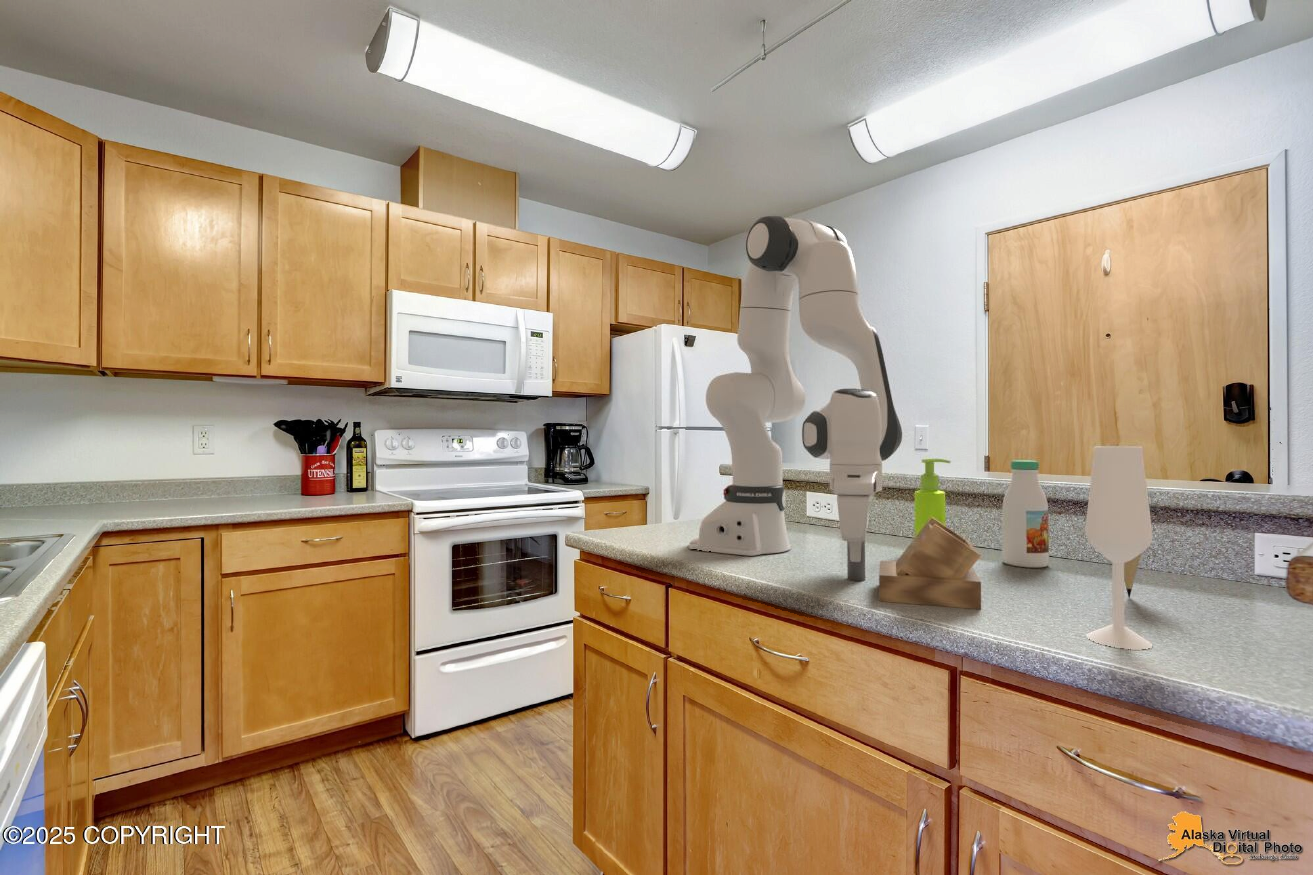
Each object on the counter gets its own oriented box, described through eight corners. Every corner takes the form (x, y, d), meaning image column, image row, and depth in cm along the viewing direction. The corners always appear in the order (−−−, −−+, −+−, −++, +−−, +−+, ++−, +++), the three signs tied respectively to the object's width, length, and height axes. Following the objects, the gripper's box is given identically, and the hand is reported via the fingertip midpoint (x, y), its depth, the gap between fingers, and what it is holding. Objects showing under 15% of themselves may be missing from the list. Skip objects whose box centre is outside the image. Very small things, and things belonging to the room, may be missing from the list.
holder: (879, 601, 96) (878, 523, 96) (880, 584, 106) (879, 513, 106) (982, 609, 91) (981, 527, 91) (972, 590, 101) (972, 517, 101)
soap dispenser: (954, 557, 127) (953, 459, 126) (918, 556, 128) (917, 459, 128) (946, 552, 132) (946, 458, 132) (912, 551, 134) (911, 458, 133)
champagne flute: (1093, 628, 82) (1093, 445, 81) (1158, 640, 77) (1158, 446, 76) (1078, 640, 77) (1077, 447, 77) (1146, 654, 72) (1145, 447, 72)
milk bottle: (1009, 567, 117) (1008, 461, 117) (997, 559, 125) (996, 459, 124) (1055, 569, 115) (1055, 461, 115) (1040, 560, 123) (1039, 459, 122)
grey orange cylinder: (846, 580, 109) (846, 523, 109) (847, 576, 112) (847, 520, 112) (865, 581, 108) (864, 524, 108) (865, 577, 111) (865, 521, 111)
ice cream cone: (1097, 595, 97) (1096, 499, 97) (1121, 591, 99) (1121, 497, 99) (1136, 604, 92) (1136, 503, 92) (1161, 600, 94) (1161, 501, 94)
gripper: (841, 475, 120) (841, 546, 121) (832, 484, 101) (832, 569, 101) (875, 476, 118) (876, 548, 118) (873, 485, 99) (873, 572, 99)
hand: (856, 558), depth 110 cm, fingers closed on grey orange cylinder, 3 cm apart
